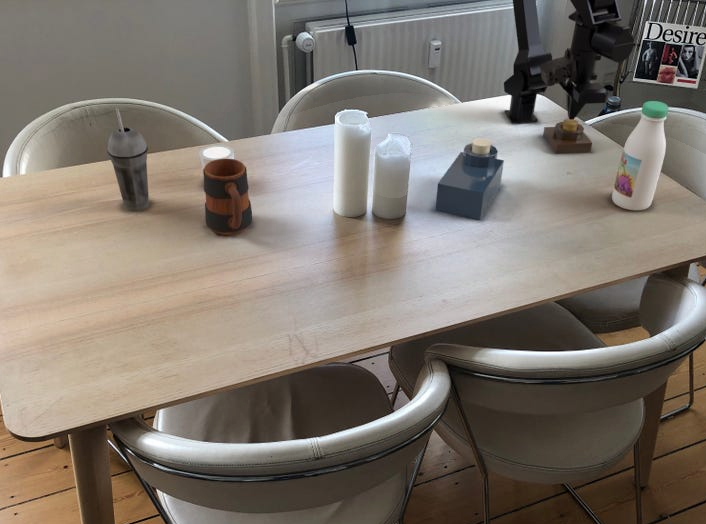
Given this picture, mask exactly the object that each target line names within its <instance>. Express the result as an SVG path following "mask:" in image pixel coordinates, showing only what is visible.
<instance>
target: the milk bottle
mask: <svg viewBox="0 0 706 524" xmlns="http://www.w3.org/2000/svg"><path fill="white" fill-rule="evenodd" d="M669 111H670V110H669V105H667V104H666V103H664V102H662V101H658V100H657V101H656V100H648V101H646V102H644V103H643V105H642V107H641V112H640V116H641V117H640V120H639V122H638V123H637V125H636V126H635V128H634V129H633V130H632V131H631V133H630V134H629V135H628V137H627V139H626V141H625V144H624V147H623V151H622V154H621V157H620V162H619V165H618V169H617V174H616V178H615V181H614V186H613V190H612V194H611V199H612V202H613V203H614V204H615V205H616V206H618V207H620V208H621V209H624V210H629V211H644V210H646V209H648V208H650V206H651V205H652V203H653V199H654V197H655V194H656V189H657V186H658V182H659V178H660V175H661V171H662V168H663V164H664V159H665V155H666V149H667V140H666V134H665V127H664V126H665V125H664V124H665V120H667V116H668V114H669Z"/></svg>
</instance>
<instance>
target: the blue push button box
mask: <svg viewBox="0 0 706 524" xmlns="http://www.w3.org/2000/svg"><path fill="white" fill-rule="evenodd" d="M498 153H499V151H498V148H497V147H495V146H494V145H492V144H491V147H490V153H489V154H481V155H480V154H475V153H473V152H472V142H471V143H469V144H466V145H465V146H464V147H463V151H460V152H459V154H458V155H457V157H456V158H455V159H454V160H453V162H452V163H451V164H450V166H449V168H447V170H446V172H444V174H443V176H442V177H441V179H440V180H439V181H438V182H437V189H436V200H435V209H434V210H435V211H436V212H441V213H446V214H450V215H454V216H459V217H464V218H468V219H472V220H473V219H474V220H476V221H477V220H478V221H481V220H482V218H483V216H484V215H485V213H486V211H487V210H488V207H489V206H490V204H491V203H492V201H493V199H494V197H495V196H496V194H497V192H498V191H499V190H500V188H501V182H502V177H503V170H504V163H505V159H499V158H498Z"/></svg>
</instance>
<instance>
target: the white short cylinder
mask: <svg viewBox="0 0 706 524" xmlns="http://www.w3.org/2000/svg"><path fill="white" fill-rule="evenodd" d="M471 143H472V152H473V153H475V154H480V155H481V154H489V153H490V147H491V145H492V142H491V141H490V140H489V139H487V138H484V137H483V138H482V137H480V138H474V139H473V140H472V142H471Z"/></svg>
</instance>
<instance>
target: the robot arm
mask: <svg viewBox="0 0 706 524" xmlns="http://www.w3.org/2000/svg"><path fill="white" fill-rule="evenodd" d="M569 1H570V3H571V4H572V6H573V8H574V9H575V11H574V12H572V13H570V14H569V15H568V16H567V18H568V20H571V21H573V22H575V23H574V28H573V32H572V39H571V44H570V47H567V48H566V50H565V51H564V55H563V56H560V57H557V58H556V57H555V58H554V59H553V55H552V53H551V52H546V51H545V50H544V48H543V47H542V42H541V32H540V24H539V17H538V16H539V15H538V14H539V13H538V6H537V0H512V6H513V15H514V23H515V31H516V40H517V48H518V51H517V54H516V57H515V59H514V62H513V67H512V68H513V74H512V75H511V76H510V77H508V78H507V79H506V80H505V81H504V82H503V92H504V93H506V94H507V95H509V96H510V103H509V109H505V110H503V113H504V115H505V116H506V118H507V120H509V122H510V123H511V124H525V123H538V122H539V119H538V118H537V116H536V115H535V108H536V101H537V96H538V94H541V93H546V90H547V89H548V87H552V86H554V85H559V86H560V87H561V88H562V90H564V93H565V97H566V98H565V99H566V109H567V119H570V120H573V119H576V117H577V116H578V114H579V113H580V112H581V111H582V110H583V108H584V107H585V106H586V105H587V104H588V105H589V104H606V103H607V101H608V96H609V92H608V91H607V90H606V88H605V87H604V86H603V85H602V84H601V83H600V82H593V81H597V78H598V73H596V72H595V71H596V65H597V61H601V60H602V57H603V58H606V59H608V60H610V61H612V62H614V63H617V64H618V63H622V62H624V61H626V60H627V59H628V58H629V56H630V55H631V54H632V52H633V50H634V47H635V42H634V40H635V39H634V36H633V35H632V34H631V33H630V31H631V26H629V25H628V24H623V23H619V22H621V21H622V15H621V10H620V7H619V3H618V0H569ZM603 12H606V13H603ZM598 13H601V14H598ZM594 14H595V15H594ZM596 14H597V15H596Z"/></svg>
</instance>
